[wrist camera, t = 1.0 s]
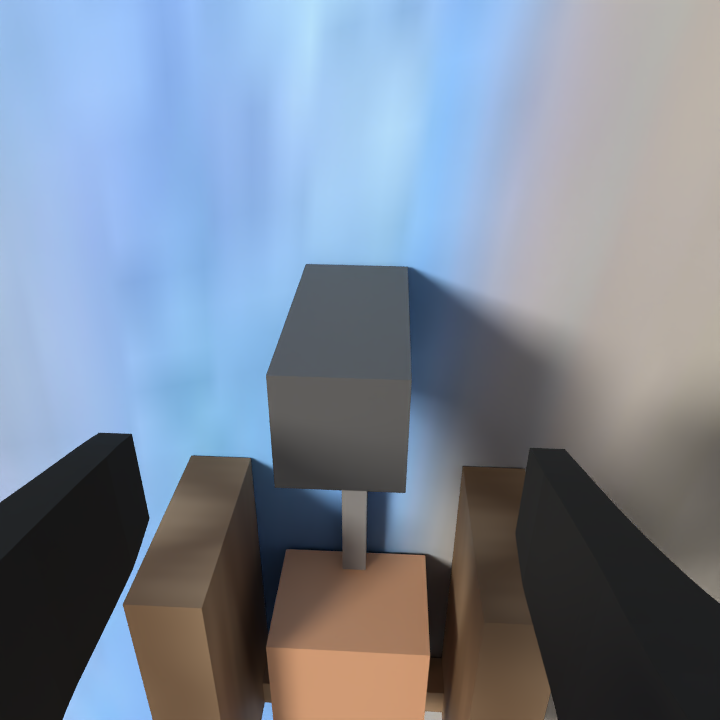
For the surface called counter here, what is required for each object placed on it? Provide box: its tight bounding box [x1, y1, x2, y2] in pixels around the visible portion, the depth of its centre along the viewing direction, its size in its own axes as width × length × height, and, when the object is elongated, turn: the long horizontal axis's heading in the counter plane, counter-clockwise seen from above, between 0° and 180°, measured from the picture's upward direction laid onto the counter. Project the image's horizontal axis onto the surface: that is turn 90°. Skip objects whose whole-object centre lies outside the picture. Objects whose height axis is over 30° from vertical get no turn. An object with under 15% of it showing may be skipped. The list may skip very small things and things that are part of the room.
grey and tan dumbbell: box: [266, 264, 430, 720], centre depth 19 cm, size 5×16×6 cm, turn 0°
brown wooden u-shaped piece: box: [123, 456, 551, 720], centre depth 21 cm, size 11×11×6 cm
